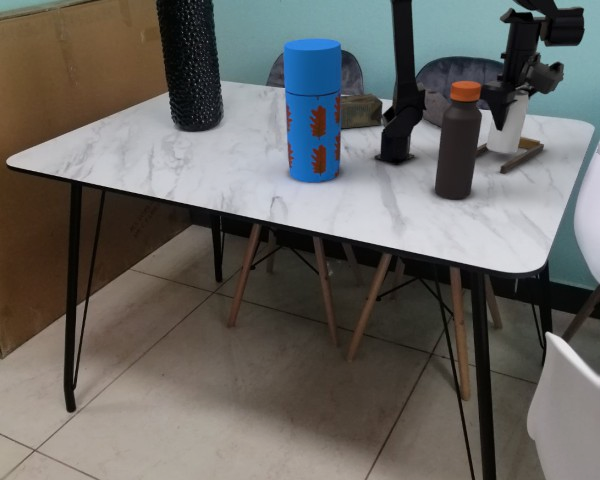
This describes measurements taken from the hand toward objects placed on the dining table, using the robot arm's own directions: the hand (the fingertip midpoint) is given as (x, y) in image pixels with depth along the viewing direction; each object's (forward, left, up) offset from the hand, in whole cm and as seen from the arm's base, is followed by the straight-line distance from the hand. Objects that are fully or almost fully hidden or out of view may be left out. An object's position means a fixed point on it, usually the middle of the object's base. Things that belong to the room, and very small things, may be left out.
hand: (507, 127), depth 120 cm
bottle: (-23, -2, -7) cm, 24 cm away
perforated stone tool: (+10, +24, -7) cm, 27 cm away
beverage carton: (-6, +41, -7) cm, 42 cm away
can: (-1, 0, -5) cm, 5 cm away
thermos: (-33, +25, -7) cm, 42 cm away
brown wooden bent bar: (0, 0, -6) cm, 7 cm away
